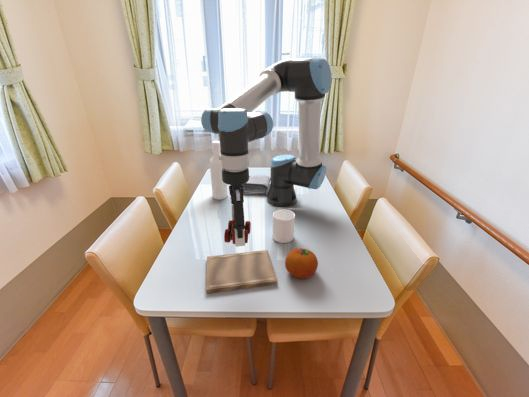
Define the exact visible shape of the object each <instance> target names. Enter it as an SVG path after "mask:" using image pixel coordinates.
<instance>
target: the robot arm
mask: <svg viewBox="0 0 529 397" xmlns="http://www.w3.org/2000/svg"><path fill="white" fill-rule="evenodd" d="M331 85H332V70H331V65H330V63H329V62H328V60H326V59H324V58H316V57H307V58H306V57H304V58H286V59H285V58H284V59H283V60H280V61H278V62H275V63H274V64H272V65H270V66H268V67H267V68H265V69H264V70H263V71H261V72H260V74H259V77H258V78H257V79H256V80H254V81H253V82H251V83H250V84H249V85H247V86H246V87H244V88H243V89H242V90H241V91H239V92H237V94H235V95H234V96H233V97H231V98H229V99H228V100H227V101H225V103H223V104H221V105H220V106H218V107H217V108H215V107H212V108H209V107H208V108H206V109H204V110H203V112H202V113H201V118H200V119H201V120H200V121H201V122H200V123H201V127H202V128H203V129H204V131H206V132H207V133H211V134H214V135H218V138H219V142H220V153H221V156H220V157H219V158H218V159H219V160H221V166H222V168H223V169H222V181H223V182H224V183H225V184H227V186H228V190H229V196H230V204H231V207H230V208H231V218H232V219H231V220H234V219H235V226H233V229H235V244H234V245H235V247H245V246H246V243H245V231H244V230H245V222H246V221H245V211H244V209H245V208H244V201H245V200H244V195H245V194H244V189H243V185H242V184H245V183H247V182H248V180H249V176H250V169H249V167H250V162H249V161H250V157H249V156H250V154H249V143H251V142H253V141H257V140H260V139H263V138H265V137H267V136H268V135H270V134H271V133H272V131H273V128H274V122H273V117H272V116H271V114H269V113H268V112H267V111H263V110H261V111H260V110H257V111H254V110H256V109H257V108H259V106H260V105H262V104H263V103H264V102H265V101H266V100H267V99H268V98H270V97H272V96H276V95H278V94H279V93H282V92H283V93H284V92H290V93H292V92H293V93H294V100H296V101H297V102H298V147H299V149H298V150H299V151H298V154H299V155H298V157H297V158H296V156H295V155H293V154H281V155H276V156H274V157H273V158H271V160H270V167H269V168H270V178H271V180H270V188H269V191H268V194H267V195H266V201H267V203H268V204H270V205H273V206H276V207H290V206H293V205H294V204H295V203H297V193H296V191H295V186H297V187H302V188H307V189H309V190H310V189H311V190H318V189H319V188H320V187H321V186H322V184H323V182H324V180H325V178H326V175H327V170H328V168H327V166H326V165H325V164H323V159H322V158H321V157H320V132H321V130H320V129H321V110H322V107H321V106H322V105H321V104H322V101H323V100H324V98H325V96H326V94H327V93H329V91H330V89H331ZM233 215H234V217H233Z"/></svg>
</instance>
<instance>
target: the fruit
mask: <svg viewBox="0 0 529 397" xmlns="http://www.w3.org/2000/svg"><path fill="white" fill-rule="evenodd" d="M284 265H285V266H284V267H285V269H286V271H287V272H288V274H289V275H291V276H293V277H295V278H297V279H303V280H304V279H308V278H310V277H312V276H314V275H315V274H316V272H317V269H318V265H319V261H318V258H317V256H316V254H315V253H314V252H313V251H311V250H310V249H307V248H302V247H301V248H294V249H292V250H290V251H289V252H288V254H287V255H286V257H285V262H284Z"/></svg>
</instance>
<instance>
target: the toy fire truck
mask: <svg viewBox="0 0 529 397" xmlns="http://www.w3.org/2000/svg"><path fill="white" fill-rule="evenodd" d="M233 217H234V215H233ZM244 222H245V229H244V231H245V244H248V242H249V241H248V240H249V235H250V234H251V229H252V228H251V226H252V224H251V221H250V220H246V221H244ZM233 226H235V219H234V220H232V219H230V220H228V224H227V228H226V229H225V230H224V234H223V235H224V238H223V239H224V240H223V241H224V243H231V241H232V245H235V229H233Z"/></svg>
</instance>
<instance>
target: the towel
mask: <svg viewBox="0 0 529 397" xmlns="http://www.w3.org/2000/svg"><path fill="white" fill-rule="evenodd" d="M270 184H271V176H269V175H265V174H258V175H256V174H255V175H249V180H248V182H247V183H245V184H242V185H243V189H244V194H243V195H266V196H267V194H268V191H269V188H270Z"/></svg>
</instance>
